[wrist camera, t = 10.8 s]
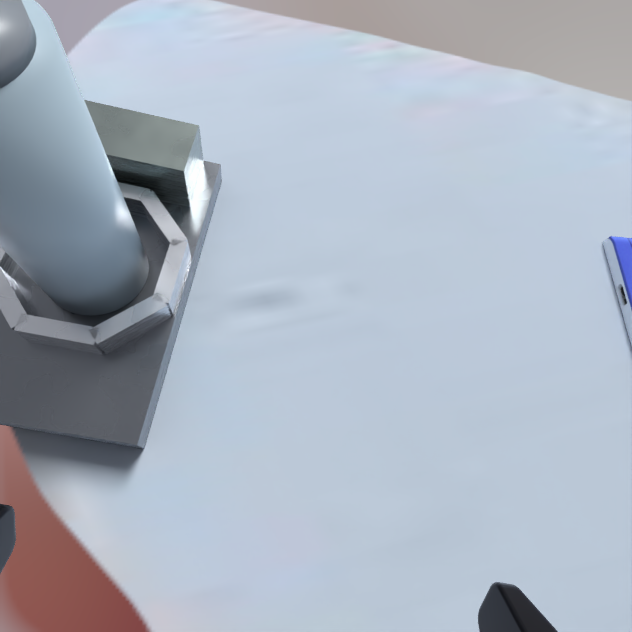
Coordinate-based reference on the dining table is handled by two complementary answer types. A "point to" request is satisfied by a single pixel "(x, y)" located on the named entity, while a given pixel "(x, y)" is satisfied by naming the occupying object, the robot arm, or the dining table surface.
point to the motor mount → (125, 323)
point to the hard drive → (621, 274)
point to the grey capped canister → (59, 176)
